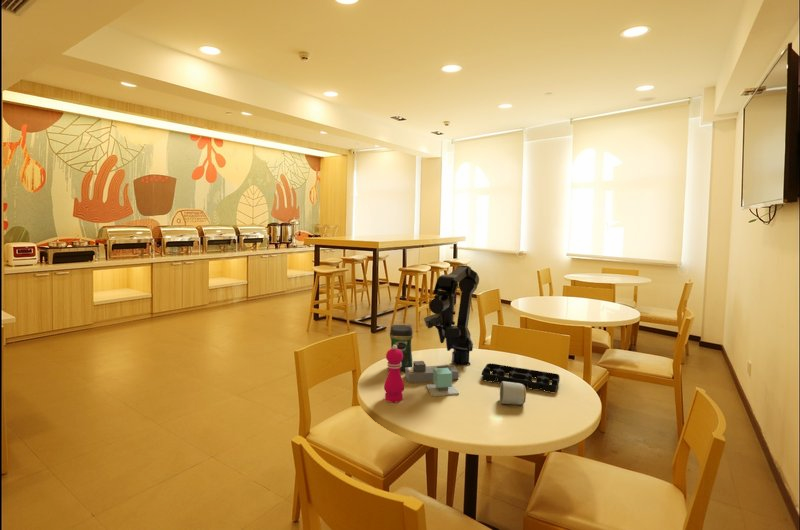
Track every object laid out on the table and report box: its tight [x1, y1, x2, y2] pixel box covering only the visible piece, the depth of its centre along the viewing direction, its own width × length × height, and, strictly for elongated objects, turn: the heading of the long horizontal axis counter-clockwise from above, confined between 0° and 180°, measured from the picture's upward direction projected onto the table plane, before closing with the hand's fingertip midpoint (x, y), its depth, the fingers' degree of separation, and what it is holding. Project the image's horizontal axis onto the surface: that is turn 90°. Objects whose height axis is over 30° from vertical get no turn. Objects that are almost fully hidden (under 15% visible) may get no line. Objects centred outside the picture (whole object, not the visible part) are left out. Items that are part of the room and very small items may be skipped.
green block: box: [432, 368, 453, 391], centre depth 170 cm, size 6×6×7 cm
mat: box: [425, 383, 460, 397], centre depth 171 cm, size 10×9×1 cm
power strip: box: [404, 360, 459, 384], centre depth 182 cm, size 20×7×6 cm, turn 101°
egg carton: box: [481, 363, 560, 393], centre depth 180 cm, size 18×30×4 cm, turn 79°
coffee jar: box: [389, 324, 414, 372], centre depth 191 cm, size 10×8×19 cm
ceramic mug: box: [499, 381, 527, 406], centre depth 163 cm, size 11×8×8 cm
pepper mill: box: [383, 345, 405, 403], centre depth 162 cm, size 7×7×20 cm
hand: (445, 346), depth 180 cm, fingers open, 9 cm apart
